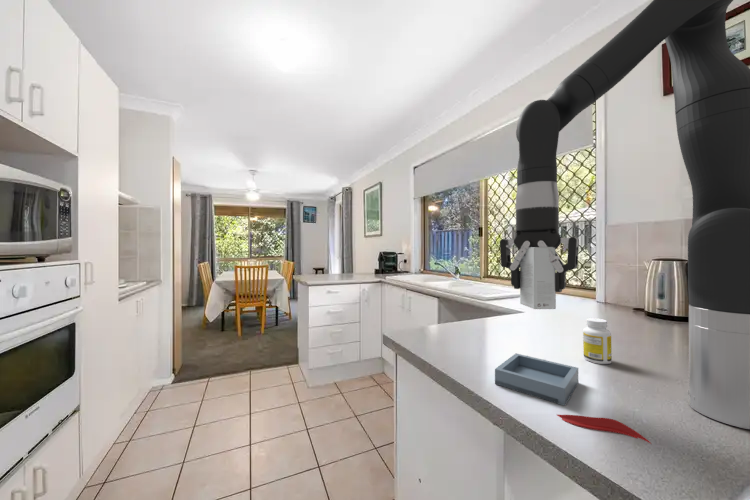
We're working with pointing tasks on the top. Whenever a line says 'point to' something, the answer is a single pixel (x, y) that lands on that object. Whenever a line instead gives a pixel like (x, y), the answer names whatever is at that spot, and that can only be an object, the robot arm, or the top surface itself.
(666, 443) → the top surface
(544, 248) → the skincare box
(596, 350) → the supplement bottle
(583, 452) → the top surface
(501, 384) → the tray
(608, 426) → the cayenne pepper
